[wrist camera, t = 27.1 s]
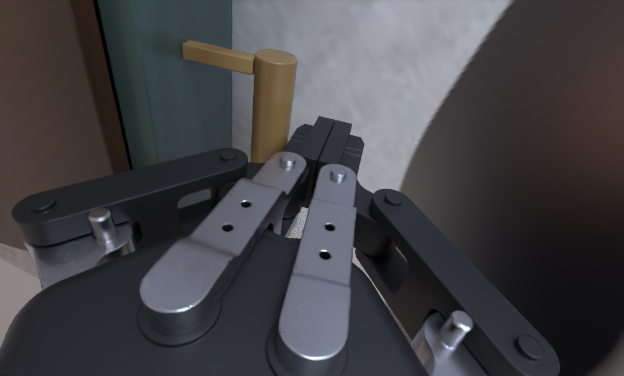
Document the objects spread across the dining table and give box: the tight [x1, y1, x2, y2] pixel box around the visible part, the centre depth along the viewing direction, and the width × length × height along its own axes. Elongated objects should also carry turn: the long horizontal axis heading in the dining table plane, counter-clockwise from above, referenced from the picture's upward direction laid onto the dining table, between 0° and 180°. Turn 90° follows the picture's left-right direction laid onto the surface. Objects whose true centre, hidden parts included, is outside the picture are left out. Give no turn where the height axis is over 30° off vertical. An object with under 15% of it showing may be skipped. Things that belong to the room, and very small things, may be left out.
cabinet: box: [0, 0, 130, 251], centre depth 16 cm, size 18×15×9 cm
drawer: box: [93, 0, 297, 209], centre depth 16 cm, size 21×14×7 cm, turn 81°
